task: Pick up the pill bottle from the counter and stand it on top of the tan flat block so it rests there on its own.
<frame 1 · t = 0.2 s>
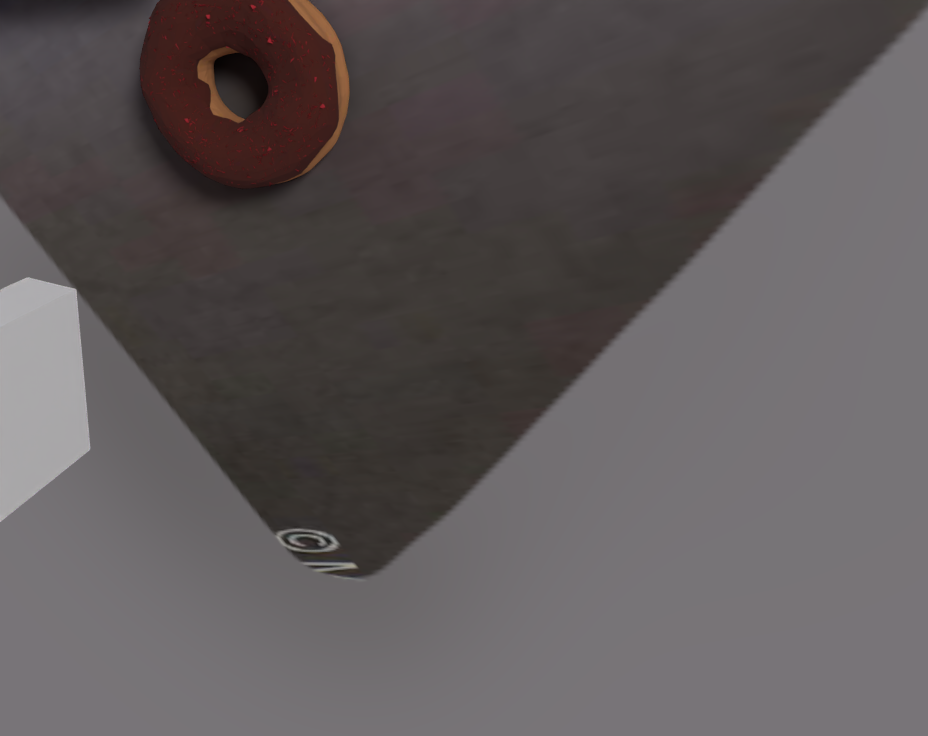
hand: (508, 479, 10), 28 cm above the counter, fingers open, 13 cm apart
donut: (262, 80, 37), on the counter
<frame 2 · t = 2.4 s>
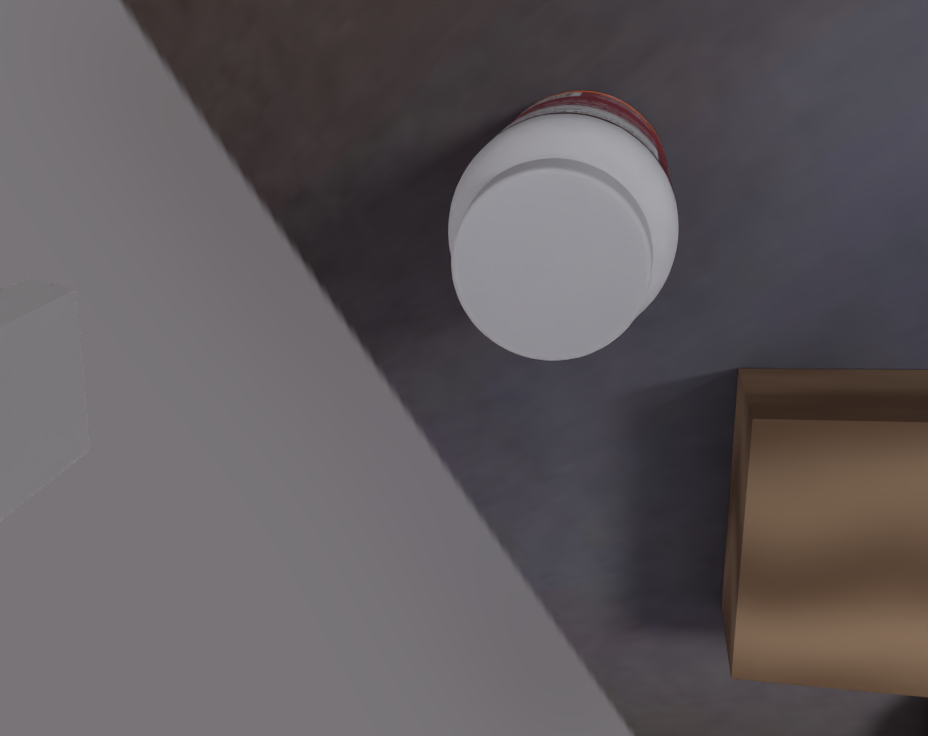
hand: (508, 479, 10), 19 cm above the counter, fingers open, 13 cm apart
tan flat block: (887, 504, 30), on the counter
pill bottle: (579, 176, 27), on the counter
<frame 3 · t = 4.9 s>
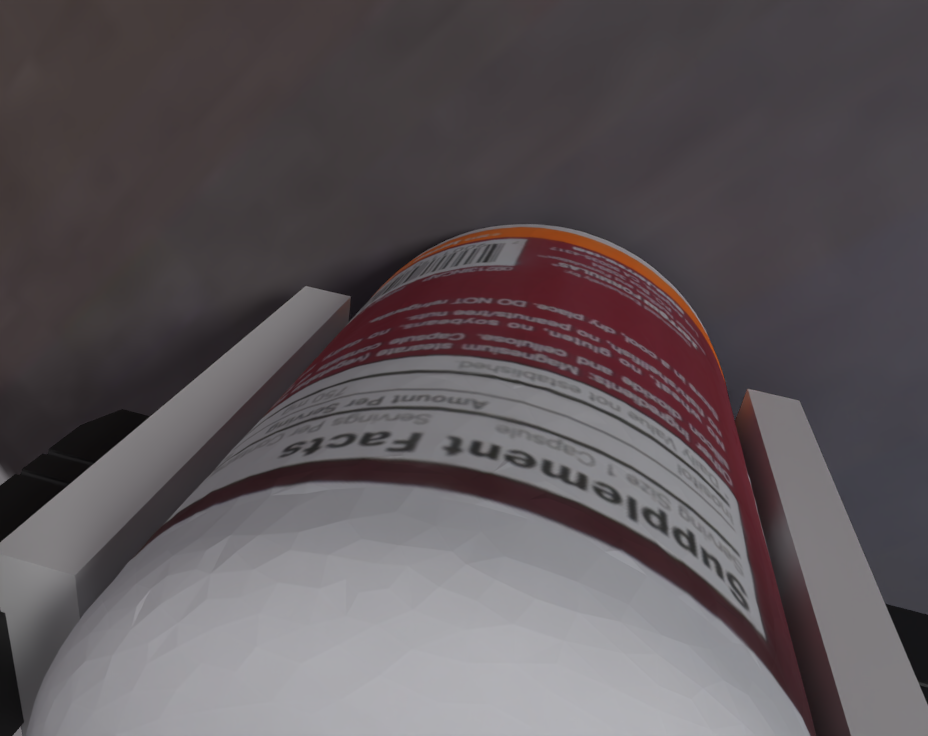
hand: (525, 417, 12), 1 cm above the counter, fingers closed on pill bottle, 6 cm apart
pill bottle: (534, 385, 13), on the counter, touching gripper
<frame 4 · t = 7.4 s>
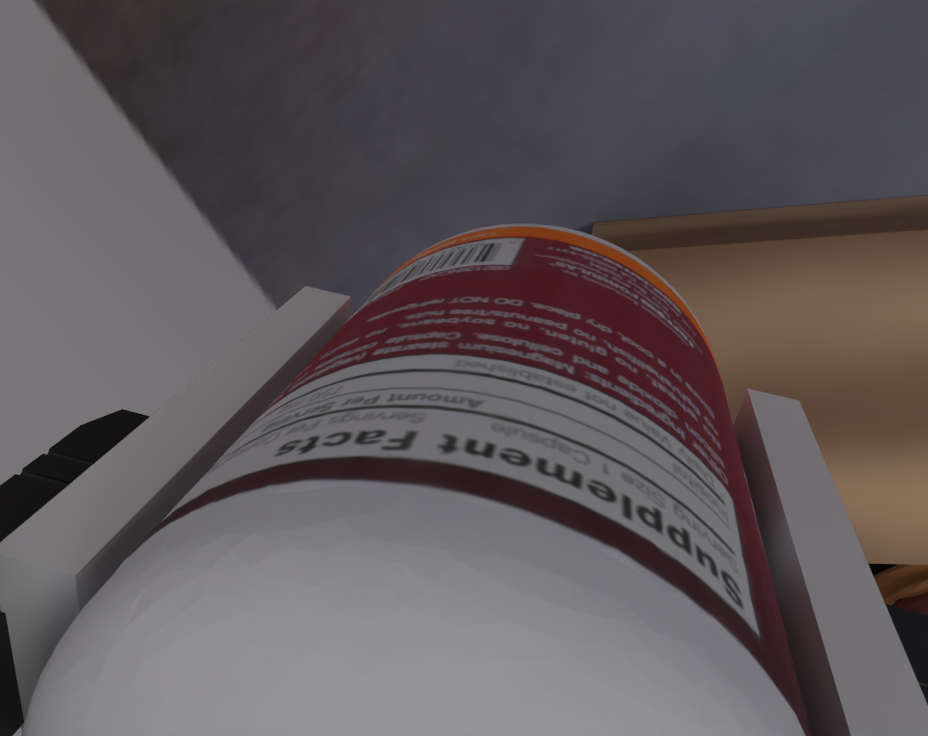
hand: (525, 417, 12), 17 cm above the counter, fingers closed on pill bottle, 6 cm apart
tan flat block: (764, 365, 28), on the counter
pill bottle: (532, 384, 13), point 16 cm above the counter, touching gripper
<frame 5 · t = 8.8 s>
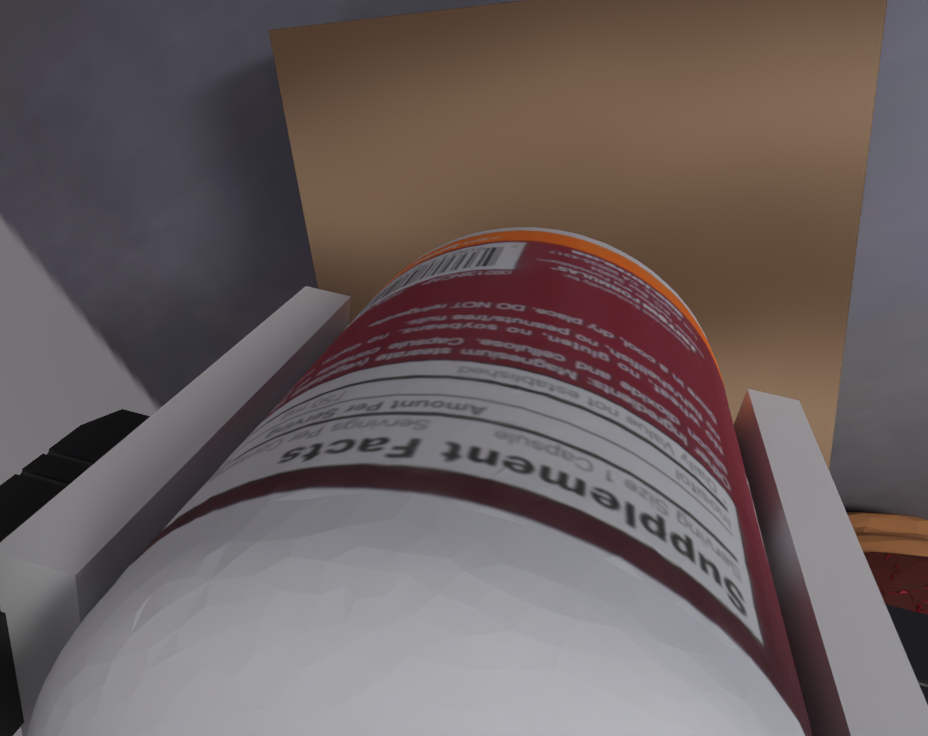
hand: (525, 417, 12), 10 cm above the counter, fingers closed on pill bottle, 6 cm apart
donut: (834, 609, 24), on the counter
tan flat block: (577, 241, 20), on the counter
pill bottle: (533, 387, 13), point 9 cm above the counter, touching gripper
when the fingers open (6 cm above the counter, at t = 10.0 s): pill bottle stays where it is, resting on tan flat block.
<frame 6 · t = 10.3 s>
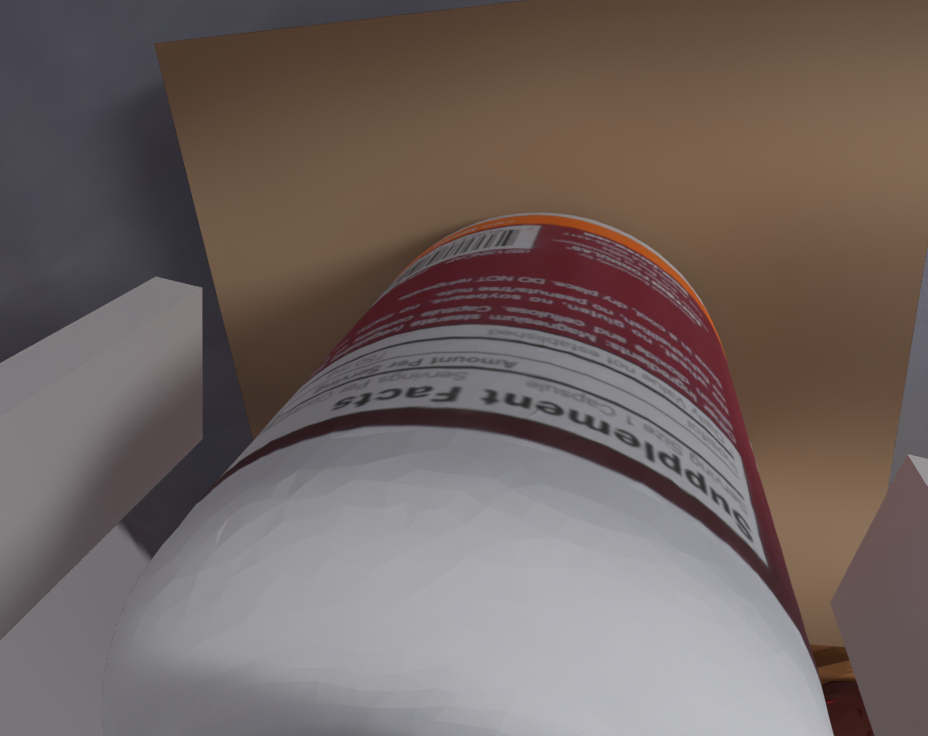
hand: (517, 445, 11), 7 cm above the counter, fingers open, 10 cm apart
donut: (858, 721, 21), on the counter
tan flat block: (557, 296, 17), on the counter
pill bottle: (544, 367, 14), point 4 cm above the counter, touching tan flat block
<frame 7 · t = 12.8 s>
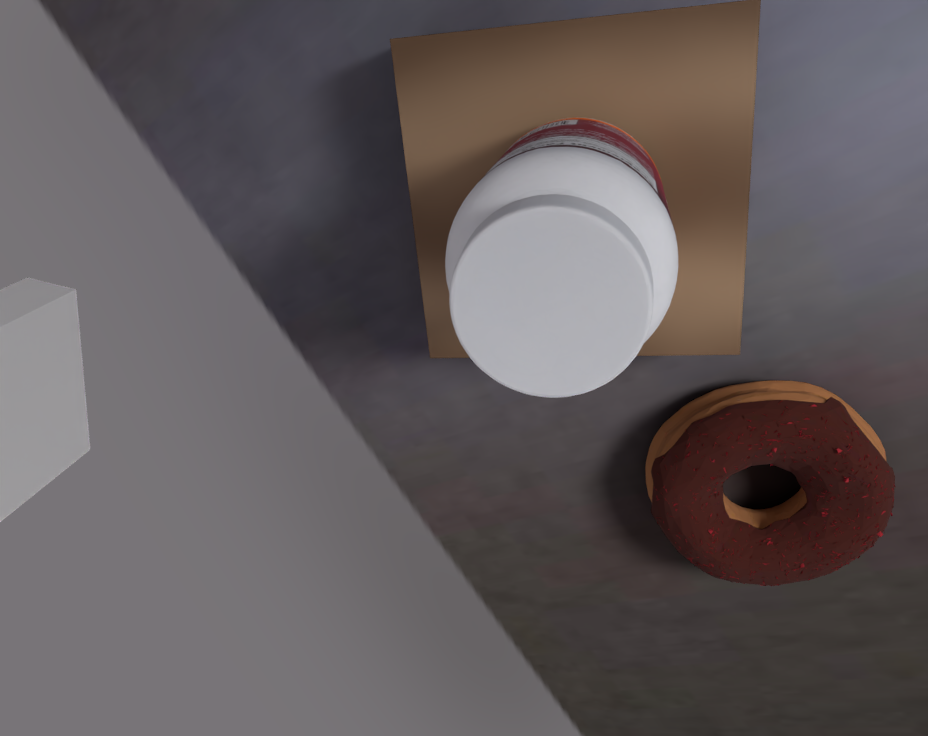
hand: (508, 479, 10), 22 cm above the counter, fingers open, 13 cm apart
donut: (756, 462, 34), on the counter
tan flat block: (578, 181, 30), on the counter
pill bottle: (575, 202, 27), point 4 cm above the counter, touching tan flat block
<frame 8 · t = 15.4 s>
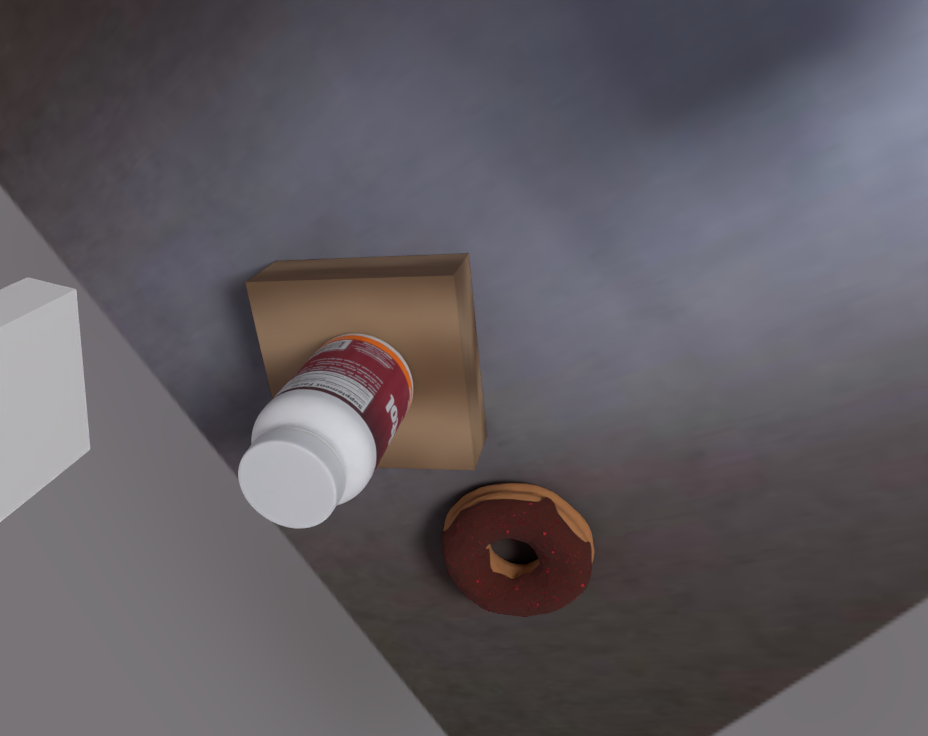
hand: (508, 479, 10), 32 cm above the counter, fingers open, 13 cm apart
donut: (519, 531, 51), on the counter
tan flat block: (383, 350, 46), on the counter
pill bottle: (365, 377, 43), point 4 cm above the counter, touching tan flat block
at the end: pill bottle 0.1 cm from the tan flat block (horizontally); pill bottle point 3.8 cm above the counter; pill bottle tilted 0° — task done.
